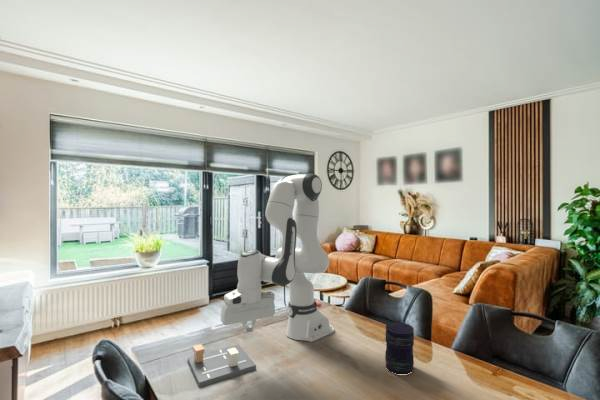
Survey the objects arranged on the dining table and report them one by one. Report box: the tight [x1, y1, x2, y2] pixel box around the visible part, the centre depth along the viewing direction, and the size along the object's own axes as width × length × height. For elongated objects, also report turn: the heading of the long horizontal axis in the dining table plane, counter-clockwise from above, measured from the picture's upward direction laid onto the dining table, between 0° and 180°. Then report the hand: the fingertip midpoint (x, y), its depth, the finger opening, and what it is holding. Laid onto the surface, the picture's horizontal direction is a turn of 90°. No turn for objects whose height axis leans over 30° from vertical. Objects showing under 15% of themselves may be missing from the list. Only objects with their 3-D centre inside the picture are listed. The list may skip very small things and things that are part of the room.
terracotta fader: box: [192, 343, 205, 363], centre depth 116 cm, size 3×4×5 cm
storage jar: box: [384, 321, 415, 374], centre depth 114 cm, size 10×10×15 cm
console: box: [187, 344, 257, 388], centre depth 115 cm, size 20×18×2 cm
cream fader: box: [227, 347, 239, 367], centre depth 113 cm, size 3×4×5 cm
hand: (248, 331), depth 116 cm, fingers closed
